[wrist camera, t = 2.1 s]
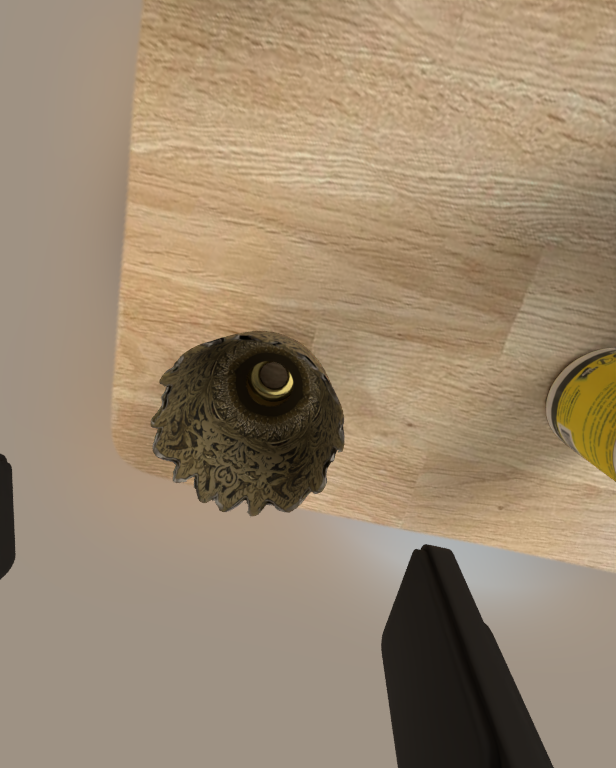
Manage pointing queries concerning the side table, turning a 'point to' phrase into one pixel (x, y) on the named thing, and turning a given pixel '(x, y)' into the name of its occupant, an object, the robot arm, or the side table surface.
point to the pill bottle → (587, 408)
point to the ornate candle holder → (249, 422)
